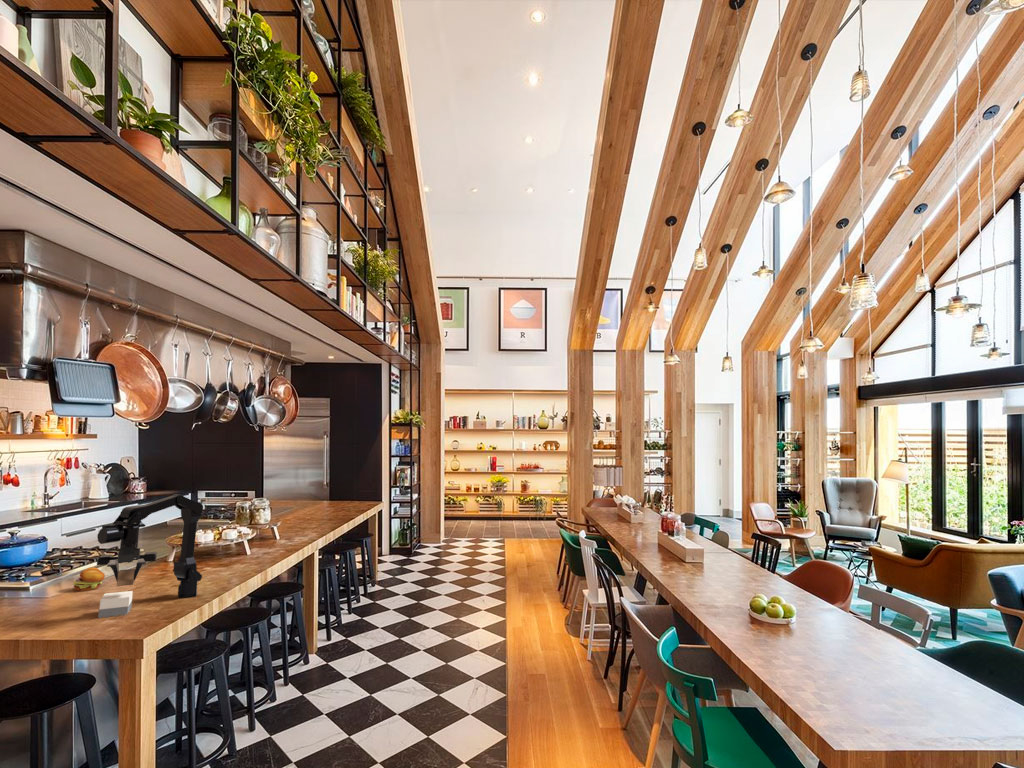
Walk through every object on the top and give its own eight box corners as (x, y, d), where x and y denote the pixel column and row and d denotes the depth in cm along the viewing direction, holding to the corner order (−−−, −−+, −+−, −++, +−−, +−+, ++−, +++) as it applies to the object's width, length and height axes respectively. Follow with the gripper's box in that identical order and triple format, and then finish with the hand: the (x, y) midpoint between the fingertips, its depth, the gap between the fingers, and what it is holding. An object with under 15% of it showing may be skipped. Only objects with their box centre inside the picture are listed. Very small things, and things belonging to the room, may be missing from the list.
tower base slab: (131, 609, 216) (131, 600, 216) (127, 616, 208) (127, 606, 208) (103, 612, 212) (104, 603, 212) (98, 619, 204) (98, 609, 204)
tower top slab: (132, 599, 216) (132, 590, 217) (128, 606, 209) (129, 596, 209) (104, 602, 212) (104, 593, 213) (99, 609, 204) (100, 599, 205)
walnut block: (134, 581, 214) (135, 568, 215) (132, 584, 210) (133, 571, 210) (119, 583, 212) (120, 569, 212) (116, 586, 207) (118, 572, 208)
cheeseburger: (86, 584, 248) (93, 563, 249) (106, 591, 247) (113, 569, 248) (65, 590, 238) (73, 567, 239) (86, 597, 237) (94, 574, 238)
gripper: (95, 545, 201) (91, 588, 200) (155, 541, 210) (152, 583, 208) (101, 540, 211) (97, 581, 209) (158, 537, 220) (155, 577, 218)
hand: (126, 581), depth 211 cm, fingers closed on walnut block, 5 cm apart
